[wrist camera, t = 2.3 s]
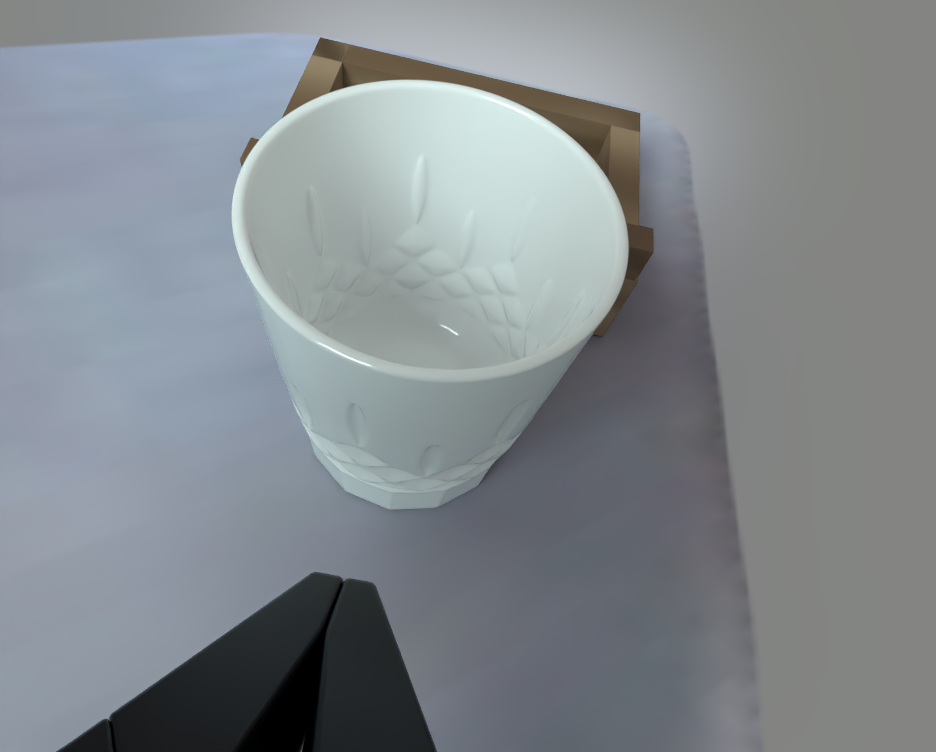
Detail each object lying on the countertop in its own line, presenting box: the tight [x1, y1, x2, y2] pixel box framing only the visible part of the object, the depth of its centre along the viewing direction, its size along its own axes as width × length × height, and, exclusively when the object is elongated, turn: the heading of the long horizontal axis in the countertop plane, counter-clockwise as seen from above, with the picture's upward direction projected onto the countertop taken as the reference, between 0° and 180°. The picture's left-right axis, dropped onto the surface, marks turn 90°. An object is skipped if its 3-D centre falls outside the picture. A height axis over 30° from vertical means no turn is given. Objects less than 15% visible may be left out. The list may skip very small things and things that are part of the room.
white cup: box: [232, 80, 629, 510], centre depth 16 cm, size 8×8×10 cm
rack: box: [240, 38, 653, 336], centre depth 23 cm, size 9×13×5 cm
